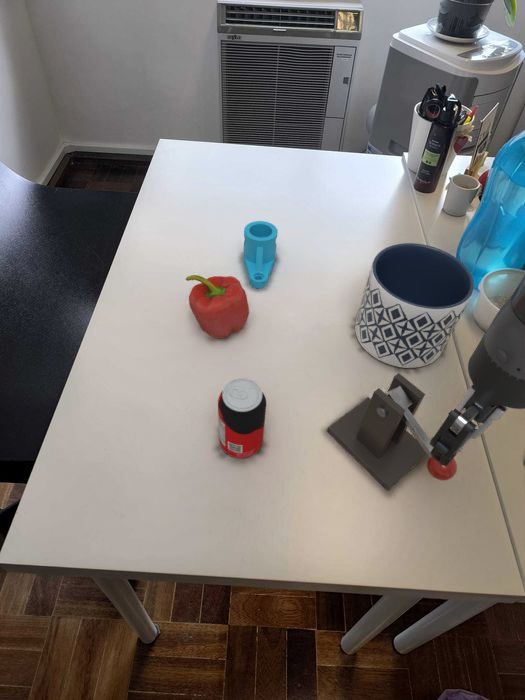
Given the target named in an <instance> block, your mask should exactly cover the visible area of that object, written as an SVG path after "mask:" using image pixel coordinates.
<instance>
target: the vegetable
mask: <svg viewBox="0 0 525 700" xmlns="http://www.w3.org/2000/svg"><path fill="white" fill-rule="evenodd" d="M185 280H186V281H188V282H189V281H197V282H200V283H197V284H195V285H194V286H193V287H192V288H191V290H190V293H189V294H188V304H189V308H190V309H191V312H192V314H193V315H194V317H195V320H196V322H197V324H198V325H199V327H200V329H201V330H202V331H203V332H205V334H207V335H208V336H210V337H212V338H217V339H224V338H227V337H228V336H229V335H230V334H231V333H234V332H239V331H240V330H242V329H243V328H244V327H245V325H247V321H248V318H249V315H250V307H249V301H248V297H247V293H246V290H245V289H244V288H243V286H242V284H241V281H240V280H239V279H238V278H236V276H231V275H229V276H223V275H217V276H216V275H214V276H210V277H208V278H205V277H204V276H201V275H196V274H192V275H191V274H190V275H189V276H187V277H185Z"/></svg>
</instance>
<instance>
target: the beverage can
mask: <svg viewBox="0 0 525 700" xmlns="http://www.w3.org/2000/svg"><path fill="white" fill-rule="evenodd" d="M266 413H267V399H266V395H265V393H264V392H263V390H262V388H261V386H260V385H259V384H258V383H257V382H256V381H255V380H252V379H249V378H246V377H245V378H242V377H241V378H235V379H232V380H230V381H229V382H228V383H227V384H225V386H224V387H223V389H222V390H221V392H220V394H219V396H218V399H217V415H218V416H217V417H218V418H217V419H218V440H219V441H218V442H219V444H220V447H221V449H222V450H223V451H224V452H225V453H226V454H228V455H229V456H231V457H232V458H233V457H234V458H238V459H246V458H249V457H252V456H254V455H255V454H257V452H258V451H259V450H260V449H261V448H262V445H263V442H264V433H265V432H264V431H265V423H266V422H265V421H266Z"/></svg>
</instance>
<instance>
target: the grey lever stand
mask: <svg viewBox="0 0 525 700" xmlns="http://www.w3.org/2000/svg"><path fill="white" fill-rule="evenodd" d="M398 386H401V388H402V389H403V390H404V392H405V393H406V395H407V396H408V397H409V399H410V400H411V402H412V404H411V405H410V406H409V407H408V409H409V411H410V412H411V413H412V415H413V416H414V417H415V414H416V413H417V411H418V409H419V408H420V406H421V404H422V401H423V400H424V397H425V396H426V393H424V392H423V391H422V390H421V389H420V388H418V387H417V386H416V385H414V384H413V383H412V382H411V381H409V380H408V379H407V378H405V376H404V375H402V374H401V373H400V372H398V373H397V374H395V375H394V376H393V378H392V381H391V382H390V385H389V387H388V390H387V392H388V391H390V390H392V389H394V388H396V387H398ZM404 412H405V410H404V409H403V408H402V407H401V406H400V405H398V404H397V403H396V402H395V401H394V400H393V399H391V398H390V397H389V396H388V395H387V394H386V392H384V391H383V390H382V389H381V388H379V387H378V388H377V389H376V390H374V391H373V393H372V396H371V397H366V398H365V399H364V400H362V401H361V402H360V403H359V404H357V405H355V406H354V407H353V408H352V409H351V410H349V411H348V412H346V413H345V414H344V415H343V416H341V417H340V418H339V419H337V420H336V421H335V422H333V423H332V424H331V425H329V426H328V427H327V430H326V432H327V433H328V434H329V435H330V436H331V438H333V439H334V440H335V442H337V443H338V444H339V445H340V446H341V447H342V448H343V449H344V450H345V451H346V452H347V453H348V454H349V455H350V456H351V457H352V458H353V459H354V460H355V461H356V462H357V463H358V464H359V465H360V466H361V467H362V468H363V469H365V471H367V473H369V475H370V476H372V477H373V479H375V480H376V481H377V482H378V483H379V484H380V485H381V486H382V487H383V488H384V489H385V490H386V491H387V492H388V491H389V490H391V489H392V488H393V487H394V486H395V485H396V484H397V483H398V482H400V481H401V480H402V479H403V478H404V477H405V476H406V475H408V473H409V472H410V471H411V470H413V469H414V468H415V467H416V466H417V465H418V464H419V463H420V462H421V461H422V460H424V459H425V458H426V457H428V455H427V454H426V452H425V451H424V449H423V448H422V447H421V445H420V444H419V442H418V441H417V440H416V438H415V437H414V435H413V434H412V433H411V432H409V431H408V430H407V429H409V428H408V427H407V425H406V424H405V423H404V421H403V420H402V416H403V414H404Z"/></svg>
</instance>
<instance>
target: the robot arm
mask: <svg viewBox="0 0 525 700" xmlns="http://www.w3.org/2000/svg"><path fill="white" fill-rule="evenodd" d="M467 362H468V363H467V373H468V377H469V379H470V381H471V383H472V384H471V386H470V387H469V388H468V389H467V390H466V391H465V392H464V394H463V399H462V400H461V401H460V402H459V404H457V406H456V407H455V408H454V409H452V410H450V411H449V412H448V415H447V417H446V418H445V420H444V421H443V423H442V424H441V426H440V427H439V428H438V430H437V432H436V433H435V435H434V436H432V438H430V440H431V442H430V443H429V444H430V445H431V446H433V447H434V448H433V449H432V451H431V455H432V457H433V458H434V459H435V460H437V461H438V462H439V463H440V464H441V465H444V466H447V465H448V464H449V463H450V462H451V461H452V460H453V458H454V459H455V457H456V456H457V454H458V453H462V451H463V450H464V447H465V446H466V444H467V443H468V442H469V441H470V440H477V439H478V438H480V437H481V436H482V435H483V433H484V432H485V431H487V429H488V428H489V427H490V426H491V425H492V424H493V422H496V421H498V420H500V419H501V418H502V416H504V414H505V413H506V412H507V411H508V410H509V408H510V409H516V410H525V274H524V275H523V276H522V279H521V280H520V282H519V283H518V285H517V287H516V288H515V289H514V291H513V293H512V294H511V295H510V298H509V299H508V300H507V301H506V302H505V303H504V304H503V306H502V307H501V308H500V309H499V310H498V311H497V313H496V315H495V316H494V318H493V319H492V321H491V323H490V324H489V326H488V328H487V330H486V331H485V333H484V335H483V336H482V337H481V339H480V341H479V343H478V344H477V345H476V347H475V349H474V350H473V352H472V354H471V356H470V358H469V360H468V361H467ZM463 410H465V411H463ZM473 421H474V422H476V423H478V424H481V425H480V426H479V427H478V428H477V424H476V423H474V422H473Z"/></svg>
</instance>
